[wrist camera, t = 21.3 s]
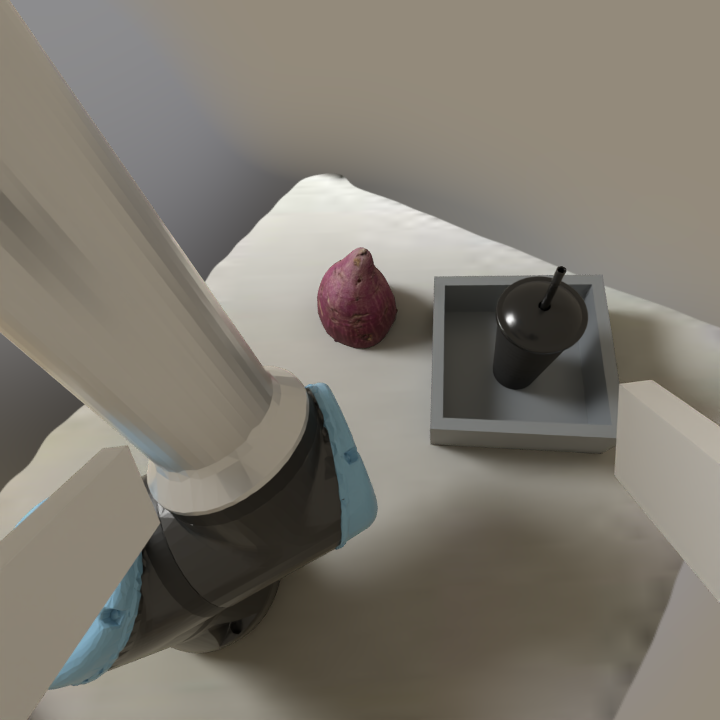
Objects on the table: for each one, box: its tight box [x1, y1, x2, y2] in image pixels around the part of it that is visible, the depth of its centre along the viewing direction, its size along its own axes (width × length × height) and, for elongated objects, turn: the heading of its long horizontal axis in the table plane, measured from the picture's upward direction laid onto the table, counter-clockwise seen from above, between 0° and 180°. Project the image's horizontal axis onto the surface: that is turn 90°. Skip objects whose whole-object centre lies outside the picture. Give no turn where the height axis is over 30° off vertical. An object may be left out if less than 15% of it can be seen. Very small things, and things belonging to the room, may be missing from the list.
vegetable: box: [317, 247, 397, 348], centre depth 52 cm, size 10×10×15 cm
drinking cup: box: [493, 266, 588, 390], centre depth 41 cm, size 8×8×20 cm
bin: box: [430, 275, 619, 454], centre depth 47 cm, size 18×18×7 cm
